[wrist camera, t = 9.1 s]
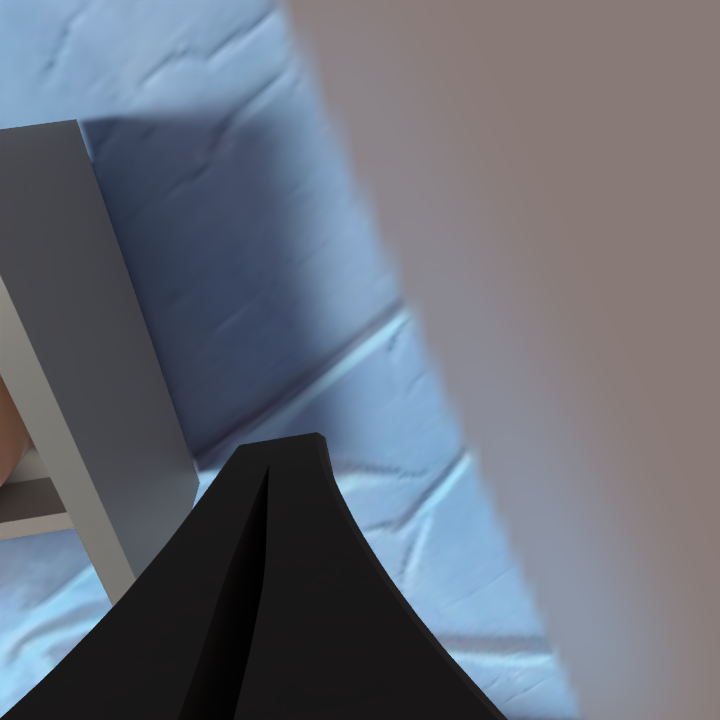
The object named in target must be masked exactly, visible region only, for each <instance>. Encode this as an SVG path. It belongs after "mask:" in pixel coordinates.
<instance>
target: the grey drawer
mask: <svg viewBox="0 0 720 720" xmlns="http://www.w3.org/2000/svg"><path fill="white" fill-rule="evenodd" d="M0 374H1V376H2V378H3V380H4V383H5V385H6V387H7V389H8V391H9V393H10V395H11V397H12V399H13V401H14V403H15V405H16V407H17V409H18V411H19V414H20V416H21V418H22V420H23V422H24V424H25V426H26V428H27V430H28V432H29V434H30V436H31V438H32V440H33V442H34V445H33V446H32V448H31V449H30V450H29V452H28V453H27V454H26V455H25V457H24V458H23V459H22V460H21V462H20V463H19V464H18V466H17V467H16V468H15V469H14V471H13V472H12V473H11V474H10V476H9V477H8V478H7V480H6V481H5V482H4V483H3V485H2V486H1V487H0V540H4V539H10V538H16V537H22V536H29V535H35V534H41V533H47V532H53V531H59V530H65V529H71V528H75V529H76V531H77V533H78V535H79V538H80V540H81V542H82V544H83V546H84V548H85V550H86V552H87V554H88V556H89V558H90V560H91V562H92V564H93V566H94V569H95V571H96V573H97V575H98V577H99V579H100V581H101V583H102V585H103V587H104V589H105V591H106V593H107V595H108V597H109V600H110V602H111V604H112V606H114V605H115V604H116V603H117V602H118V601H119V600H120V599H121V597H122V596H123V595H124V594H125V593H126V592H127V590H128V589H129V588H130V587H131V586H132V584H133V583H134V582H135V581H136V580H137V578H138V577H139V576H140V575H141V574H142V572H143V571H144V570H145V569H146V568H147V567H148V565H149V564H150V563H151V562H152V561H153V559H154V558H155V557H156V556H157V555H158V553H159V552H160V551H161V550H162V549H163V547H164V546H165V545H166V544H167V542H168V541H169V540H170V538H171V537H172V536H173V534H174V533H175V532H176V530H177V529H178V528H179V527H180V525H181V524H182V523H183V521H184V520H185V519H186V517H187V516H188V515H189V513H190V512H191V511H192V508H193V504H194V501H195V497H196V494H197V490H198V487H199V484H200V482H199V479H198V476H197V473H196V470H195V468H194V465H193V462H192V459H191V456H190V453H189V450H188V447H187V444H186V441H185V438H184V435H183V432H182V429H181V426H180V423H179V420H178V418H177V415H176V412H175V409H174V406H173V403H172V400H171V397H170V394H169V391H168V388H167V385H166V382H165V379H164V376H163V373H162V370H161V368H160V365H159V362H158V359H157V356H156V353H155V350H154V347H153V344H152V341H151V338H150V335H149V332H148V329H147V326H146V323H145V320H144V318H143V315H142V312H141V309H140V306H139V303H138V300H137V297H136V294H135V291H134V288H133V285H132V282H131V279H130V276H129V273H128V270H127V267H126V265H125V262H124V259H123V256H122V253H121V250H120V247H119V244H118V241H117V238H116V235H115V232H114V229H113V226H112V223H111V220H110V217H109V215H108V212H107V209H106V206H105V203H104V200H103V197H102V194H101V191H100V188H99V185H98V182H97V179H96V176H95V173H94V170H93V167H92V165H91V162H90V159H89V156H88V153H87V150H86V147H85V144H84V141H83V138H82V135H81V132H80V129H79V126H78V123H77V120H76V119H75V120H68V121H60V122H53V123H45V124H38V125H31V126H23V127H16V128H9V129H1V130H0Z"/></svg>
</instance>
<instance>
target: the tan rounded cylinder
mask: <svg viewBox="0 0 720 720" xmlns="http://www.w3.org/2000/svg"><path fill="white" fill-rule="evenodd" d="M33 445H34V442H33V440H32V438H31V436H30V434H29V432H28V430H27V428H26V426H25V424H24V422H23V420H22V418H21V416H20V414H19V411H18V409H17V407H16V405H15V403H14V401H13V399H12V397H11V395H10V393H9V391H8V389H7V387H6V385H5V383H4V380H3V378H2V376H1V374H0V487H1V486H2V485H3V483H4V482H5V481H6V480H7V478H8V477H9V476H10V474H11V473H12V472H13V471H14V469H15V468H16V467H17V466H18V464H19V463H20V462H21V460H22V459H23V458H24V457H25V455H26V454H27V453H28V452H29V450H30V449H31V448H32V446H33Z"/></svg>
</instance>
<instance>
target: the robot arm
mask: <svg viewBox="0 0 720 720" xmlns="http://www.w3.org/2000/svg"><path fill="white" fill-rule="evenodd" d="M0 720H507V718H506V717H505V716H504V715H503V714H502V713H501V712H500V711H499V710H498V708H497V707H496V706H495V705H494V704H493V703H492V702H491V701H490V700H489V698H488V697H487V696H486V695H485V694H484V693H483V692H482V691H481V689H480V688H479V687H478V686H477V685H476V684H475V683H474V682H473V681H472V679H471V678H470V677H469V676H468V675H467V674H466V673H465V672H464V670H463V669H462V668H461V667H460V666H459V665H458V664H457V663H456V662H455V660H454V659H453V658H452V657H451V656H450V655H449V654H448V653H447V651H446V650H445V649H444V648H443V647H442V645H441V644H440V643H439V642H438V640H437V639H436V638H435V637H434V635H433V634H432V633H431V632H430V630H429V629H428V628H427V627H426V625H425V624H424V623H423V622H422V620H421V619H420V618H419V617H418V615H417V614H416V613H415V611H414V610H413V609H412V607H411V606H410V604H409V603H408V602H407V600H406V599H405V598H404V596H403V595H402V594H401V592H400V591H399V590H398V588H397V587H396V585H395V584H394V583H393V581H392V580H391V578H390V577H389V575H388V574H387V572H386V571H385V569H384V568H383V566H382V565H381V563H380V562H379V560H378V559H377V557H376V555H375V554H374V552H373V551H372V549H371V547H370V546H369V544H368V543H367V541H366V539H365V538H364V536H363V534H362V533H361V531H360V529H359V527H358V526H357V524H356V522H355V520H354V518H353V516H352V514H351V512H350V510H349V508H348V506H347V505H346V503H345V501H344V499H343V497H342V495H341V493H340V490H339V488H338V486H337V484H336V481H335V479H334V476H333V472H332V467H331V462H330V458H329V453H328V448H327V443H326V439H325V437H324V436H322V435H320V434H319V433H317V432H315V433H309V434H303V435H297V436H291V437H285V438H279V439H273V440H268V441H262V442H256V443H250V444H244V445H239V447H238V448H237V449H236V451H235V452H234V453H233V454H232V456H231V457H230V458H229V460H228V461H227V462H226V464H225V465H224V467H223V468H222V469H221V471H220V472H219V473H218V475H217V476H216V478H215V479H214V480H213V482H212V483H211V485H210V486H209V487H208V489H207V490H206V492H205V493H204V494H203V496H202V497H201V498H200V500H199V501H198V503H197V504H196V505H195V507H194V508H193V509H192V511H191V512H190V513H189V515H188V516H187V517H186V519H185V520H184V521H183V523H182V524H181V525H180V527H179V528H178V529H177V530H176V532H175V533H174V534H173V536H172V537H171V538H170V540H169V541H168V542H167V544H166V545H165V546H164V547H163V549H162V550H161V551H160V552H159V553H158V555H157V556H156V557H155V558H154V559H153V561H152V562H151V563H150V564H149V565H148V567H147V568H146V569H145V570H144V571H143V572H142V574H141V575H140V576H139V577H138V578H137V580H136V581H135V582H134V583H133V584H132V586H131V587H130V588H129V589H128V590H127V592H126V593H125V594H124V595H123V596H122V597H121V599H120V600H119V601H118V602H117V603H116V604H115V605H114V606H113V607H112V609H111V610H110V611H109V612H108V613H107V614H106V615H105V616H104V617H103V618H102V619H101V620H100V622H99V623H98V624H97V625H96V626H95V627H94V628H93V629H92V630H91V631H90V632H89V633H88V634H87V635H86V636H85V637H84V638H83V639H82V640H81V641H80V642H79V643H78V644H77V645H76V646H75V647H74V648H73V649H72V650H71V652H70V653H69V654H68V655H67V656H66V657H65V658H64V659H63V660H62V661H61V662H60V663H59V664H58V665H57V666H56V667H55V668H54V669H53V670H52V671H51V672H50V673H49V674H48V675H47V676H46V677H45V678H43V679H42V680H41V681H40V682H39V683H38V684H37V685H36V686H35V687H34V688H33V689H32V690H31V691H30V692H29V693H27V694H26V695H25V696H24V697H23V698H22V699H21V700H20V701H19V702H18V703H16V704H15V705H14V706H13V707H12V708H11V709H10V710H9V711H8V712H7V713H6V714H4V715H3V716H2V717H1V718H0Z"/></svg>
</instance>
